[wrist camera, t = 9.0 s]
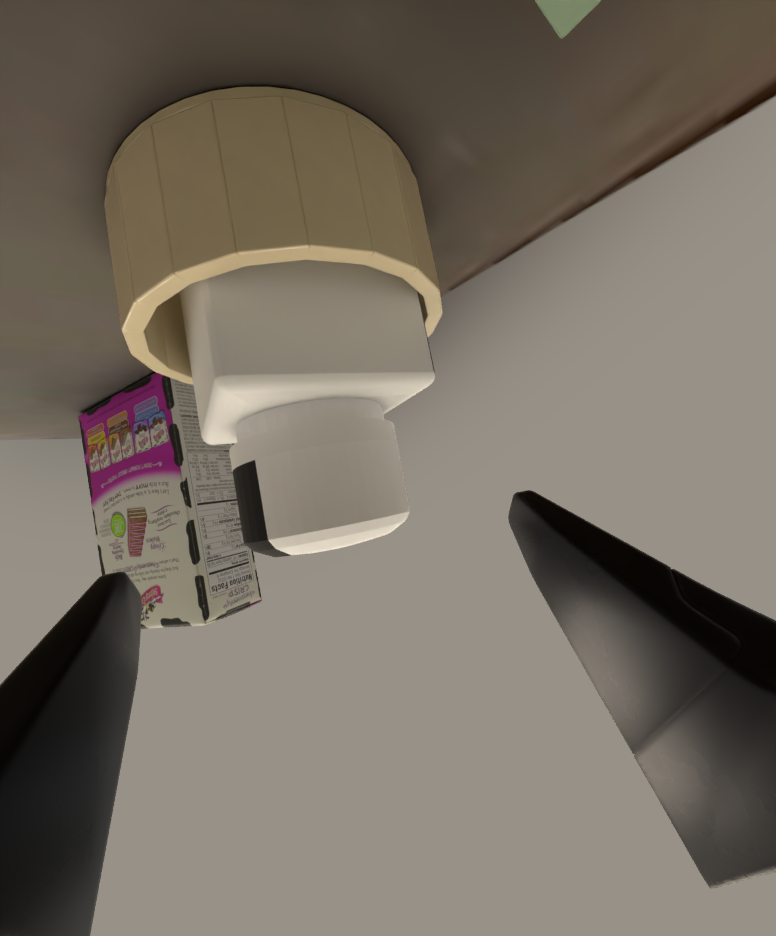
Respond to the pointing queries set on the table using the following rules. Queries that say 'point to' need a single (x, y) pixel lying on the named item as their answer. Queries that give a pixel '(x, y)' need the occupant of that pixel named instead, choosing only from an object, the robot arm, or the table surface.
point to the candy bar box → (167, 506)
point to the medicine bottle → (308, 396)
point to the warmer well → (254, 205)
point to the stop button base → (565, 13)
